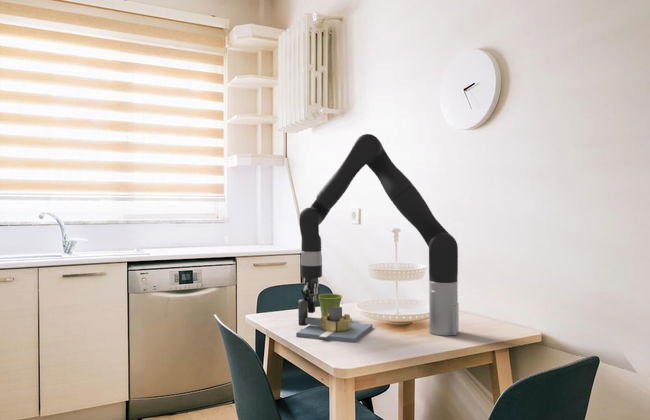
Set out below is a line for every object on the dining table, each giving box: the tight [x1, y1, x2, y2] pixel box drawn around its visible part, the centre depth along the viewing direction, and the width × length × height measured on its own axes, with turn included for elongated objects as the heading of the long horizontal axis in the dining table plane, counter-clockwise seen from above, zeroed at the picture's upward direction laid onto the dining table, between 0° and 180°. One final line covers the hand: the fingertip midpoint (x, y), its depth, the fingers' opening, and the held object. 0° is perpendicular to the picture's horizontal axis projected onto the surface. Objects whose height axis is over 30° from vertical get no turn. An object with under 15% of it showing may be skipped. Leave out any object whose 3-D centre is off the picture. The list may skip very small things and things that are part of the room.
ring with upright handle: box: [297, 298, 352, 331], centre depth 166 cm, size 19×10×8 cm, turn 69°
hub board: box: [295, 306, 374, 343], centre depth 163 cm, size 20×22×8 cm
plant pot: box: [318, 293, 343, 317], centre depth 184 cm, size 9×9×9 cm
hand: (311, 312), depth 173 cm, fingers closed
